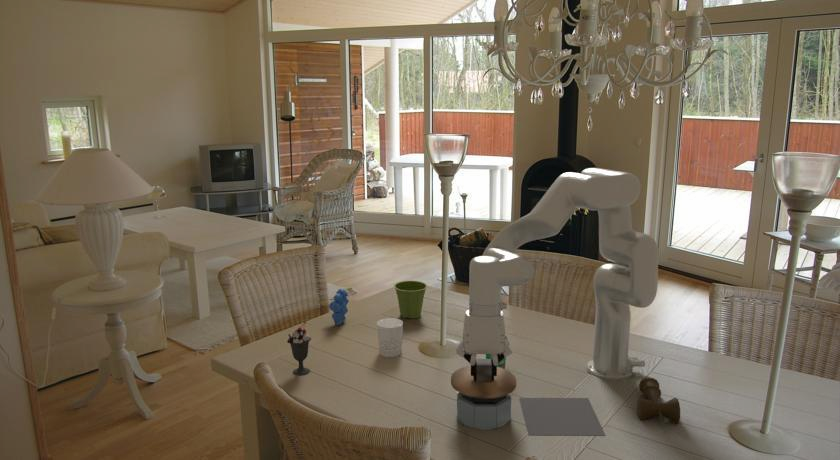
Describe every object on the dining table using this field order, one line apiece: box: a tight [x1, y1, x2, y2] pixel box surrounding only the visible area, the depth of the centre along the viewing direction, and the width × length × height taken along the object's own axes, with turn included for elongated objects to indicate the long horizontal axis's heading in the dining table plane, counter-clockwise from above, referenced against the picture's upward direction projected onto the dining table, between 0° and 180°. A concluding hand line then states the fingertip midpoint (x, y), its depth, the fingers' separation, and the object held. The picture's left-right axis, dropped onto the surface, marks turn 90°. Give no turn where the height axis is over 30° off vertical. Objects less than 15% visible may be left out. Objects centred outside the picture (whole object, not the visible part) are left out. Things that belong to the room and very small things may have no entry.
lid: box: [450, 358, 517, 399], centre depth 156 cm, size 16×16×6 cm
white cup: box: [376, 317, 404, 358], centre depth 196 cm, size 8×8×10 cm
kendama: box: [636, 376, 681, 424], centre depth 160 cm, size 6×10×20 cm
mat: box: [519, 397, 606, 437], centre depth 159 cm, size 18×18×1 cm
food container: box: [485, 334, 510, 370], centre depth 183 cm, size 12×6×10 cm, turn 168°
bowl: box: [456, 391, 512, 430], centre depth 158 cm, size 13×13×6 cm
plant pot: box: [393, 280, 428, 320], centre depth 227 cm, size 12×12×11 cm
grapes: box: [328, 288, 350, 326], centre depth 221 cm, size 12×7×12 cm, turn 167°
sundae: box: [287, 321, 312, 377], centre depth 183 cm, size 7×7×15 cm
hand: (483, 377), depth 157 cm, fingers closed on lid, 3 cm apart
